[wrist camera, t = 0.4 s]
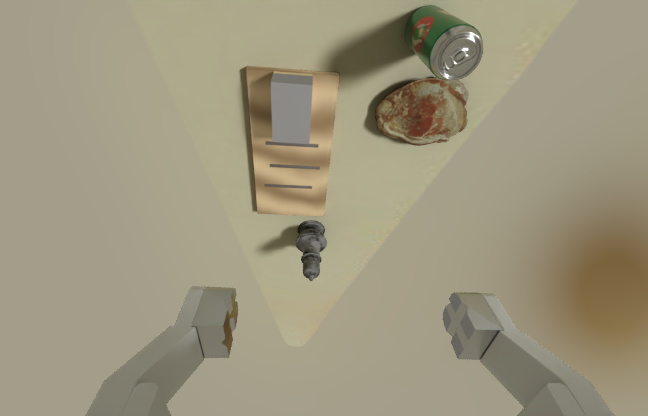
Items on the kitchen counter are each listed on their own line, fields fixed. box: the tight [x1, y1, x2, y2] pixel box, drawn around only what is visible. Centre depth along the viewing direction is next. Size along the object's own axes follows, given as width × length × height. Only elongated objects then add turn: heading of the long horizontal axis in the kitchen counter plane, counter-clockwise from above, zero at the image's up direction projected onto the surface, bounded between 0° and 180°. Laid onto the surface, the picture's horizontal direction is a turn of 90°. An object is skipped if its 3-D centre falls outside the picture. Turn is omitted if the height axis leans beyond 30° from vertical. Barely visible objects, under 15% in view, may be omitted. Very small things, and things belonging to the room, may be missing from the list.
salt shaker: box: [296, 220, 327, 281], centre depth 56 cm, size 6×6×12 cm
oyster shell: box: [376, 77, 468, 146], centre depth 44 cm, size 13×10×3 cm
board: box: [246, 66, 339, 216], centre depth 49 cm, size 25×12×1 cm, turn 175°
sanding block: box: [271, 71, 313, 144], centre depth 41 cm, size 8×5×4 cm, turn 175°
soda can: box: [405, 5, 483, 80], centre depth 34 cm, size 5×5×12 cm
